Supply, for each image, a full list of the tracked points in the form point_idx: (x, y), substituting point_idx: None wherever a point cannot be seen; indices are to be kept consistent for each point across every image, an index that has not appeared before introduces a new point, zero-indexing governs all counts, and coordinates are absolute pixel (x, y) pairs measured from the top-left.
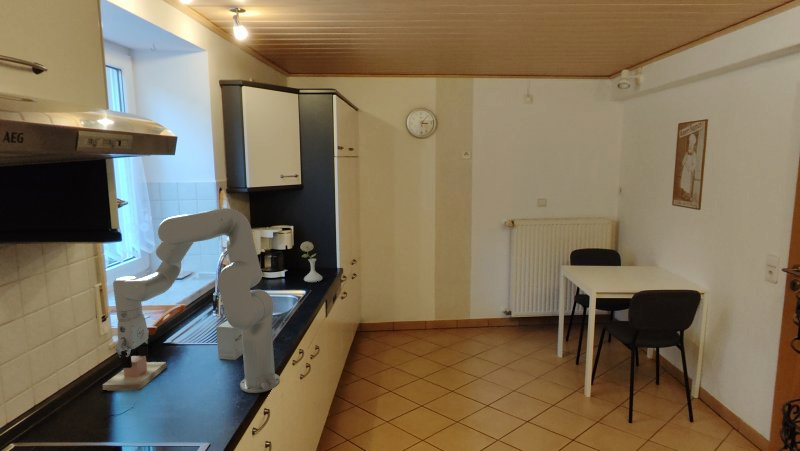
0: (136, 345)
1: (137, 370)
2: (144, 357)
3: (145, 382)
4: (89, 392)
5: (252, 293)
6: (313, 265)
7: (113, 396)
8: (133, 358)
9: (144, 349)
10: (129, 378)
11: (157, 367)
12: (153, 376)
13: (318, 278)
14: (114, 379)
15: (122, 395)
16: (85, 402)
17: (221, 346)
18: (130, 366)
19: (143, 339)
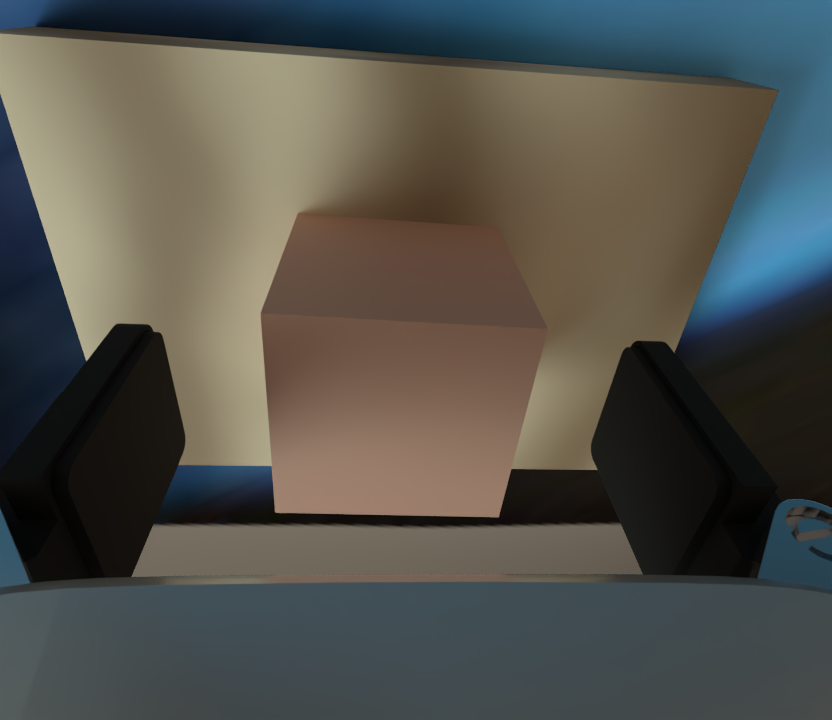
0: (773, 644)
1: (511, 267)
2: (306, 311)
3: (604, 71)
4: (609, 499)
5: None
6: None
7: (773, 294)
8: (370, 452)
9: (121, 438)
10: (543, 304)
11: (215, 82)
12: (398, 57)
13: None
14: (533, 433)
15: (792, 217)
16: (787, 445)
17: None
18: (663, 356)
19: (251, 717)
